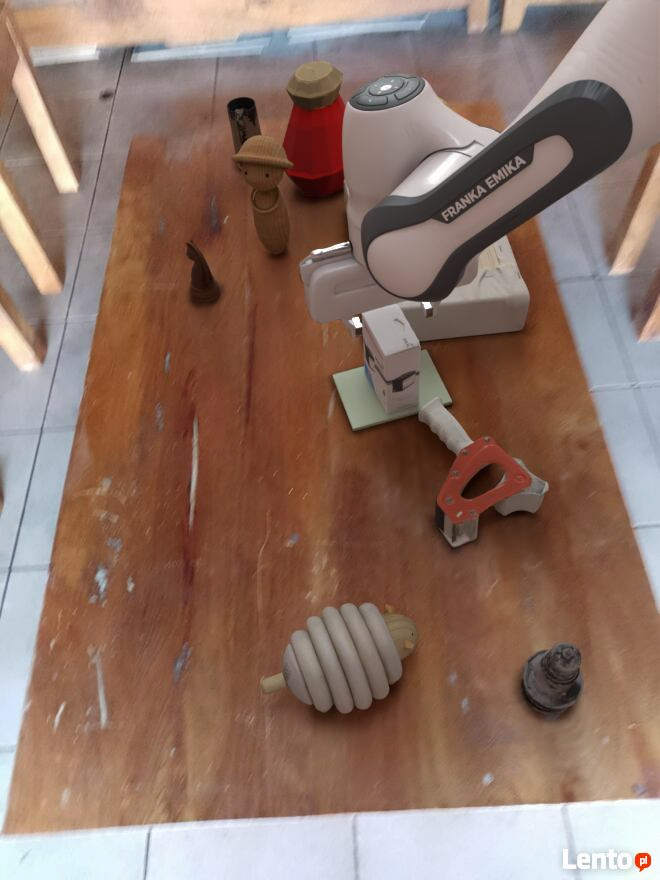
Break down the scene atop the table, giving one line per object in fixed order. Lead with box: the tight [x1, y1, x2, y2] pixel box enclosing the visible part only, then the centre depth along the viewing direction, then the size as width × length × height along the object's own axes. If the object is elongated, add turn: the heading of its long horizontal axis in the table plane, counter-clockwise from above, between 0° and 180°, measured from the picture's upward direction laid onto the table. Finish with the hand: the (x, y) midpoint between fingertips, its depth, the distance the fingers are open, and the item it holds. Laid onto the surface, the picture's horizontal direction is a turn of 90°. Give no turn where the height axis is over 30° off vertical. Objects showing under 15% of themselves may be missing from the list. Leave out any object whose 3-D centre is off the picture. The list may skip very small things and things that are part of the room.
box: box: [343, 180, 531, 342], centre depth 109 cm, size 23×8×32 cm
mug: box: [226, 96, 263, 170], centre depth 127 cm, size 8×6×12 cm
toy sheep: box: [259, 602, 420, 714], centre depth 72 cm, size 11×17×11 cm, turn 115°
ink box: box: [361, 304, 422, 414], centre depth 94 cm, size 8×5×12 cm, turn 19°
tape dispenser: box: [417, 397, 550, 548], centre depth 88 cm, size 18×5×20 cm
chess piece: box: [184, 238, 221, 305], centre depth 109 cm, size 5×5×10 cm
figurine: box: [230, 134, 293, 255], centre depth 109 cm, size 9×7×20 cm
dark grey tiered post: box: [520, 641, 584, 716], centre depth 70 cm, size 6×6×12 cm
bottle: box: [281, 60, 346, 199], centre depth 119 cm, size 16×14×20 cm
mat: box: [331, 348, 453, 432], centre depth 99 cm, size 14×10×1 cm
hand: (392, 323), depth 88 cm, fingers open, 8 cm apart
